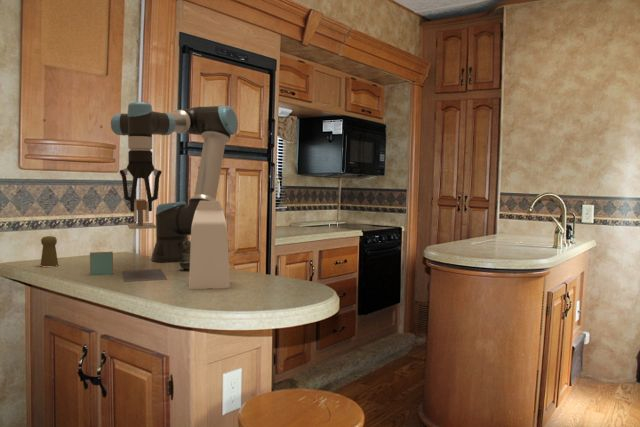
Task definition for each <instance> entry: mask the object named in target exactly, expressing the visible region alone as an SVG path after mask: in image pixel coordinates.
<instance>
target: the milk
mask: <svg viewBox="0 0 640 427" xmlns="http://www.w3.org/2000/svg"><path fill="white" fill-rule="evenodd" d="M228 240H229V237H228V226H227V220H226V216H225V212H224V210H223V206H222V204H221V202H220V200H216V201H199V204H198V206H197V208H196V210H195V214H194V218H193V221H192V226H191V235H190V242H191V247H190V270H189V274H188V275H189V279H188V290H205V289H206V290H207V288H213V289H230V288H231V285H230V284H231V282H230V261H229V260H230V259H229V241H228ZM228 287H229V288H228Z"/></svg>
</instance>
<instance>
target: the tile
mask: <svg viewBox="0 0 640 427" xmlns="http://www.w3.org/2000/svg"><path fill="white" fill-rule="evenodd" d="M113 261H114V251H93V252H92V251H90V252H89V270H90V271H89V274H90V276H102V275H113V274H114V262H113Z"/></svg>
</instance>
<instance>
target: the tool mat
mask: <svg viewBox="0 0 640 427" xmlns="http://www.w3.org/2000/svg"><path fill="white" fill-rule="evenodd" d="M121 272H122V277H123V282H124V283H131V282H150V281H166V280H167V281H168V280H169V279H168V278H167V277H166V274H165V273H164V272H163V270H162V269H161V268H153V269H132V270H131V269H130V270H129V269H128V270H122V271H121Z"/></svg>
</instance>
